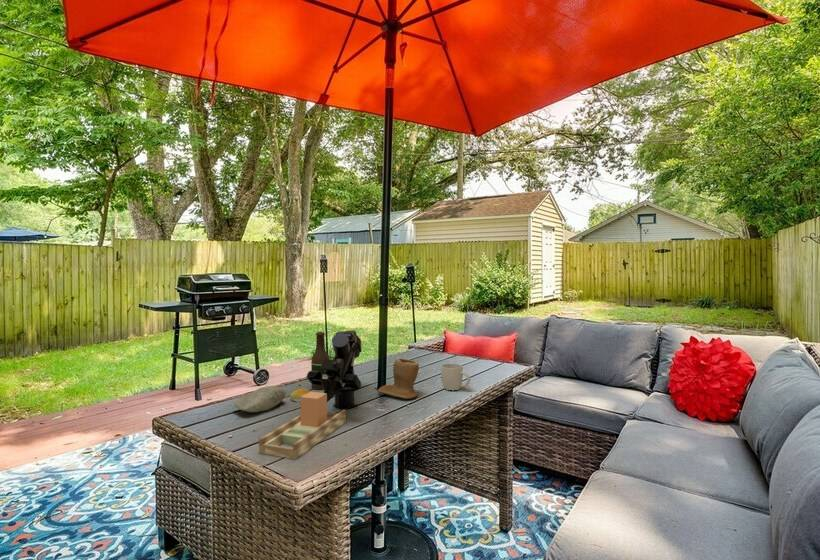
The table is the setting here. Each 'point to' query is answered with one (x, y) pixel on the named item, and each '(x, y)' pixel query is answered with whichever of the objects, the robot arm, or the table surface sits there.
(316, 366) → the beer bottle
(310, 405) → the terracotta block
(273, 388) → the rock
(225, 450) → the table surface
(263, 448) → the wooden compartment tray
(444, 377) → the mug
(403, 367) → the brown boot
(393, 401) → the table surface
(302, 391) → the bread roll
